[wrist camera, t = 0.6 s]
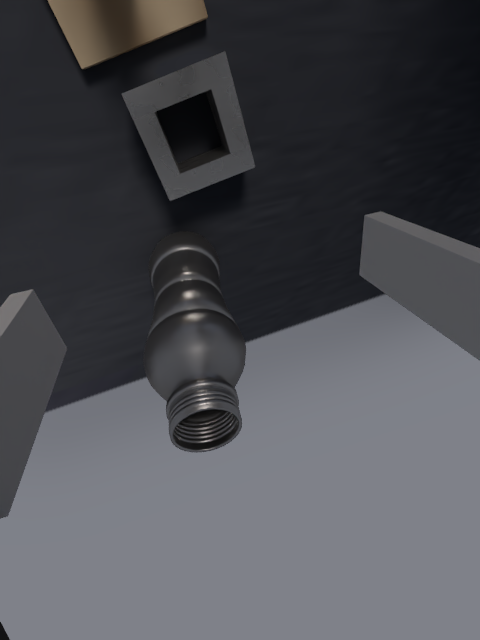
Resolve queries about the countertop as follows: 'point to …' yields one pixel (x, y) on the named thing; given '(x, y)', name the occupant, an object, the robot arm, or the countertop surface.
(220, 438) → the plastic bottle
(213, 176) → the grey square frame
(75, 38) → the tan square plate
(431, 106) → the countertop surface
